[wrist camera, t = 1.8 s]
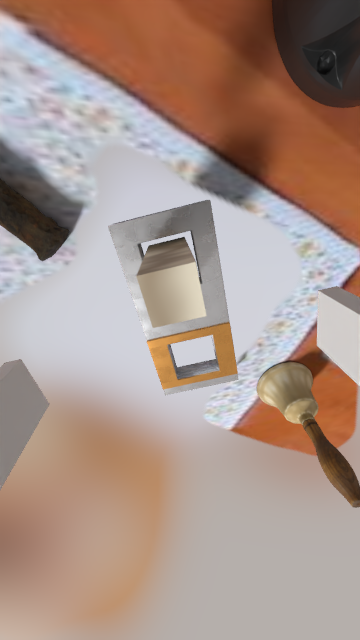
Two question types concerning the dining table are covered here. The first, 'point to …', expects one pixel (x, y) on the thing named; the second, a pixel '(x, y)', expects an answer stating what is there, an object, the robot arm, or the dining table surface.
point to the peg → (170, 283)
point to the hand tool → (30, 223)
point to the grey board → (211, 282)
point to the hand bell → (307, 421)
